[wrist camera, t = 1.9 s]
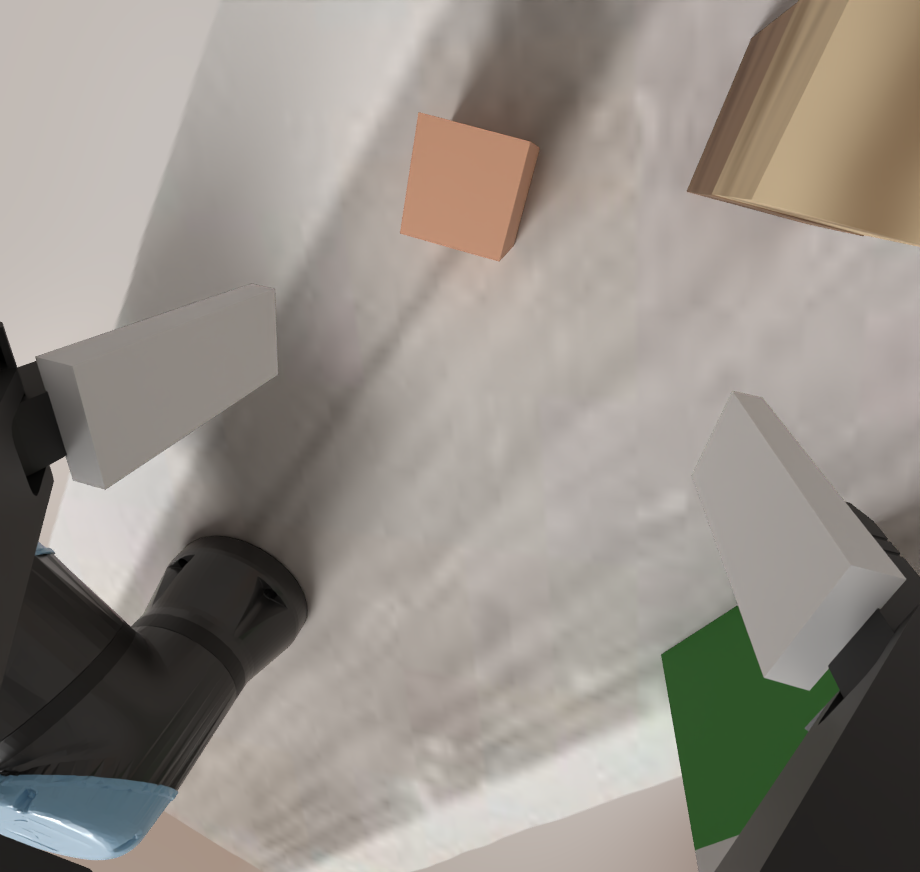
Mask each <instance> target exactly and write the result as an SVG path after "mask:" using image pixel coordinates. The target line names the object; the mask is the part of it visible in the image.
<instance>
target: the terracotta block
mask: <svg viewBox="0 0 920 872" xmlns="http://www.w3.org/2000/svg"><path fill="white" fill-rule="evenodd" d="M539 150H540V148H539V147H538V146H536V145H535V144H533V143H532V142H530V141H526V140H522V139H519V138H515V137H511V136H507V135H503V134H500V133H496V132H492V131H488V130H485V129H481V128H477V127H473V126H469V125H466V124H462V123H458V122H454V121H450V120H447V119H443V118H439V117H435V116H431V115H428V114H424V113H420V112H419V113H418V120H417V126H416V133H415V139H414V146H413V152H412V159H411V165H410V172H409V178H408V185H407V191H406V198H405V204H404V211H403V217H402V224H401V230H400V234H404V235H407V236H411V237H415V238H418V239H422V240H425V241H429V242H432V243H436V244H439V245H443V246H446V247H450V248H453V249H457V250H460V251H464V252H467V253H471V254H475V255H478V256H482V257H485V258H489V259H492V260H496V261H500V260H501V259H502V258H503V257H504V256H505V255H506V254H507V253H508V251H509V250H510V249H511V248H512V247H513V246H514V242H515V239H516V235H517V231H518V228H519V224H520V220H521V216H522V213H523V209H524V205H525V202H526V198H527V194H528V190H529V187H530V183H531V179H532V176H533V172H534V168H535V164H536V161H537V157H538V153H539Z"/></svg>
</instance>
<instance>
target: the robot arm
mask: <svg viewBox="0 0 920 872" xmlns="http://www.w3.org/2000/svg"><path fill="white" fill-rule="evenodd" d="M277 375H278V357H277V330H276V304H275V289H273V288H269V287H264V286H260V285H255V284H248V285H245V286H242V287H239V288H236V289H234V290H231V291H228V292H225V293H222V294H219V295H216V296H213V297H210V298H207V299H204V300H201V301H198V302H195V303H192V304H189V305H186V306H183V307H180V308H177V309H175V310H172V311H169V312H166V313H163V314H160V315H157V316H154V317H151V318H148V319H145V320H142V321H139V322H136V323H133V324H130V325H127V326H124V327H121V328H118V329H115V330H113V331H110V332H107V333H104V334H101V335H98V336H95V337H92V338H89V339H86V340H83V341H80V342H77V343H74V344H71V345H69V346H65V347H62V348H60V349H56V350H54V351H51V352H48V353H45V354H42V355H39V356H36V361H35V362H32V363H29V364H26V365H24V366H21V367H18V368H17V365H16V362H15V359H14V356H13V353H12V350H11V347H10V344H9V341H8V338H7V335H6V332H5V329H4V326H3V323H2V322H0V872H92V871H91V870H90V869H89V868H86V867H84V866H81V865H79V864H76V863H73V862H71V861H68V860H66V859H63V858H60V857H58V856H55V855H53V854H50V853H48V852H45V851H49V852H52V853H57V854H61V855H65V856H69V857H74V858H80V859H88V860H107V859H113V858H117V857H120V856H122V855H124V854H126V853H128V852H129V851H130V850H132V849H133V848H135V847H136V846H137V845H138V844H139V843H140V842H141V841H142V839H143V838H144V837H145V835H146V834H147V833H148V831H149V830H150V829H151V827H152V826H153V824H154V823H155V822H156V820H157V819H158V818H159V816H160V815H161V813H162V812H163V811H164V809H165V808H166V807H167V805H168V804H169V803H170V801H172V800H173V799H174V798H175V797H176V795H177V794H178V789H179V787H180V786H181V784H182V783H183V781H184V780H185V778H186V776H187V775H188V773H189V772H190V770H191V769H192V767H193V766H194V764H195V762H196V761H197V759H198V758H199V756H200V755H201V753H202V752H203V750H204V748H205V747H206V745H207V744H208V742H209V741H210V739H211V737H212V736H213V734H214V733H215V731H216V730H217V728H218V727H219V725H220V723H221V722H222V720H223V719H224V717H225V716H226V714H227V713H228V711H229V709H230V708H231V706H232V705H233V703H234V701H235V700H236V698H237V697H238V695H239V694H240V692H241V691H242V689H243V688H244V686H245V685H246V683H247V682H248V681H249V680H250V679H252V678H253V677H254V676H255V675H256V674H257V673H259V672H260V671H261V670H262V669H263V668H264V667H266V666H267V665H268V664H269V663H270V662H271V661H273V660H274V659H275V658H276V657H277V656H279V655H280V654H281V653H282V652H283V651H284V650H285V649H287V648H288V647H289V646H290V645H291V644H292V642H293V641H294V640H295V638H296V636H297V635H298V633H299V632H300V630H301V628H302V627H303V625H304V623H305V620H306V616H307V605H306V601H305V597H304V594H303V592H302V590H301V588H300V586H299V585H298V583H297V582H296V580H295V579H294V577H293V576H292V575H291V574H290V573H289V571H288V570H287V569H286V568H285V567H284V566H283V565H281V564H280V563H279V562H278V561H277V560H276V559H274V558H273V557H272V556H270V555H269V554H267V553H266V552H264V551H262V550H261V549H259V548H257V547H255V546H253V545H250V544H248V543H246V542H243V541H240V540H237V539H233V538H227V537H218V536H212V537H204V538H200V539H197V540H195V541H193V542H191V543H190V544H189V545H187V546H186V547H185V548H184V549H183V550H182V551H181V552H180V553H179V554H178V555H177V556H176V557H175V558H174V559H173V560H172V561H171V563H170V564H169V566H168V567H167V569H166V571H165V573H164V575H163V577H162V579H161V581H160V583H159V585H158V587H157V588H156V590H155V592H154V594H153V596H152V598H151V600H150V602H149V604H148V606H147V608H146V610H145V612H144V613H143V615H142V616H141V617H140V618H139V619H138V620H137V621H136V622H135V623H134V624H133V625H132V626H131V627H130V626H129V625H128V624H127V623H126V622H125V621H124V620H123V619H122V618H121V617H120V616H119V615H118V614H117V613H116V612H115V611H114V610H112V609H111V608H110V607H109V606H108V605H107V604H106V603H105V602H104V601H103V600H102V599H101V598H99V597H98V596H97V595H96V594H95V593H94V592H93V591H92V590H91V589H90V588H89V587H88V586H86V585H85V584H84V583H83V582H82V581H81V580H80V579H79V578H78V577H77V576H76V575H75V574H73V573H72V572H71V571H70V570H69V569H68V568H67V567H66V566H65V565H64V564H63V563H62V562H61V561H60V560H59V559H58V558H57V557H56V556H55V555H54V554H55V552H54V551H53V550H52V549H51V548H46V547H44V546H43V545H42V544H41V543H39V542H38V540H39V536H40V533H41V528H42V525H43V521H44V517H45V513H46V509H47V505H48V502H49V498H50V494H51V490H52V486H53V482H54V480H53V475H52V472H51V469H50V464H52V463H54V462H56V461H57V460H59V459H61V458H63V457H64V456H66V459H67V462H68V465H69V469H70V472H71V475H72V479H73V481H77V482H80V483H84V484H87V485H91V486H94V487H98V488H101V489H105V490H106V489H107V488H109V487H110V486H112V485H113V484H115V483H116V482H118V481H119V480H121V479H122V478H124V477H125V476H127V475H128V474H130V473H131V472H133V471H134V470H136V469H137V468H139V467H140V466H142V465H143V464H145V463H146V462H148V461H149V460H151V459H152V458H154V457H155V456H157V455H158V454H160V453H161V452H163V451H164V450H166V449H167V448H169V447H170V446H172V445H173V444H175V443H176V442H178V441H179V440H181V439H182V438H184V437H185V436H187V435H188V434H190V433H191V432H193V431H194V430H196V429H197V428H199V427H200V426H202V425H203V424H205V423H206V422H208V421H209V420H211V419H212V418H214V417H215V416H217V415H218V414H220V413H221V412H223V411H224V410H226V409H227V408H229V407H230V406H232V405H233V404H235V403H236V402H238V401H239V400H241V399H242V398H244V397H245V396H247V395H248V394H250V393H251V392H253V391H254V390H256V389H257V388H259V387H260V386H262V385H263V384H265V383H266V382H268V381H269V380H271V379H272V378H274V377H275V376H277ZM692 478H693V481H694V484H695V486H696V489H697V492H698V495H699V498H700V500H701V503H702V506H703V509H704V512H705V514H706V517H707V520H708V523H709V526H710V528H711V531H712V534H713V537H714V540H715V542H716V545H717V548H718V551H719V554H720V556H721V559H722V562H723V565H724V568H725V570H726V573H727V576H728V579H729V582H730V584H731V587H732V590H733V593H734V596H735V598H736V601H737V604H738V607H739V610H740V612H741V615H742V618H743V621H744V623H745V626H746V629H747V632H748V635H749V637H750V640H751V643H752V646H753V649H754V651H755V654H756V657H757V660H758V663H759V665H760V668H761V671H762V674H763V677H764V678H767V679H770V680H774V681H777V682H781V683H784V684H788V685H791V686H795V687H798V688H802V689H805V690H809V691H810V690H811V688H812V687H813V686H814V685H815V684H816V683H817V681H818V680H819V679H820V678H821V677H822V676H823V675H824V673H825V672H826V671H827V670H828V669H829V670H830V672H831V674H832V676H833V678H834V680H835V682H836V684H837V686H838V688H839V691H838V692H837V693H836V694H835V696H834V697H833V698H832V699H831V700H830V701H829V702H828V703H827V704H826V705H825V706H824V707H823V709H822V710H821V711H820V712H819V713H818V714H817V715H816V716H815V717H814V718H813V719H812V720H811V722H810V723H809V724H808V725H807V726H806V727H805V729H806V730H807V731H808V733H807V734H806V736H805V737H804V739H803V740H802V742H801V743H800V745H799V746H798V748H797V749H796V751H795V752H794V754H793V755H792V757H791V758H790V760H789V761H788V763H787V764H786V766H785V767H784V769H783V770H782V772H781V773H780V775H779V776H778V778H777V779H776V781H775V782H774V784H773V785H772V787H771V788H770V790H769V791H768V793H767V794H766V795H765V797H764V798H763V800H762V801H761V803H760V804H759V806H758V807H757V809H756V810H755V812H754V813H753V815H752V816H751V818H750V819H749V821H748V822H747V824H746V825H745V827H744V828H743V830H742V831H741V833H740V834H739V836H738V837H737V839H736V840H735V842H734V843H733V845H732V846H731V848H730V849H729V851H728V852H727V854H726V855H725V857H724V858H723V860H722V861H721V863H720V864H719V866H718V867H717V868H716V870H715V871H714V872H920V577H919V576H918V574H917V573H916V572H915V571H914V570H913V568H912V567H911V566H910V565H909V564H908V562H907V561H906V560H905V559H904V558H903V557H900V556H899V555H900V553H899V552H898V550H897V549H896V548H895V547H894V546H893V544H892V543H891V542H888V541H887V539H888V538H887V537H886V536H885V535H884V533H883V532H882V531H881V530H880V529H879V527H878V526H877V525H876V524H875V523H874V521H873V520H871V519H870V518H869V517H867V516H866V515H865V514H864V513H862V512H861V511H860V510H858V509H857V508H856V507H854V506H853V505H852V504H851V503H848V502H845V501H844V500H843V499H842V497H841V496H840V495H839V494H838V492H837V491H836V490H835V488H834V487H833V486H832V485H831V483H830V482H829V481H828V480H827V478H826V477H825V476H824V475H823V473H822V472H821V471H820V470H819V468H818V467H817V466H816V465H815V463H814V462H813V461H812V459H811V458H810V457H809V456H808V454H807V453H806V452H805V451H804V449H803V448H802V447H801V446H800V444H799V443H798V442H797V441H796V439H795V438H794V437H793V436H792V434H791V433H790V432H789V430H788V429H787V428H786V427H785V425H784V424H783V423H782V422H781V420H780V419H779V418H778V417H777V415H776V414H775V413H774V412H773V410H772V409H771V408H770V407H769V405H768V404H767V403H766V401H765V400H764V399H763V398H762V397H758V396H753V395H749V394H744V393H740V392H735V391H732V393H731V395H730V397H729V399H728V401H727V403H726V405H725V407H724V409H723V411H722V413H721V415H720V417H719V420H718V422H717V424H716V426H715V428H714V430H713V432H712V434H711V436H710V438H709V440H708V442H707V444H706V446H705V449H704V451H703V453H702V455H701V457H700V459H699V461H698V463H697V465H696V467H695V469H694V471H693V473H692ZM37 848H38V849H37ZM40 849H42V850H45V851H42V850H40Z"/></svg>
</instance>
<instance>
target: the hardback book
mask: <svg viewBox="0 0 920 872" xmlns="http://www.w3.org/2000/svg"><path fill="white" fill-rule="evenodd" d="M661 657H662V662H663V668H664V674H665V680H666V685H667V691H668V697H669V703H670V709H671V714H672V720H673V726H674V732H675V738H676V743H677V749H678V755H679V761H680V766H681V772H682V778H683V784H684V790H685V795H686V801H687V807H688V812H689V818H690V824H691V830H692V836H693V842H694V847H695V853H696V859H697V865H698V870H699V872H714V871H715V870H716V868H717V867H718V866H719V864H720V863H721V861H722V860H723V858H724V857H725V855H726V854H727V852H728V851H729V849H730V848H731V846H732V845H733V843H734V842H735V840H736V839H737V837H738V836H739V834H740V833H741V831H742V830H743V828H744V827H745V825H746V824H747V822H748V821H749V819H750V818H751V816H752V815H753V813H754V812H755V810H756V809H757V807H758V806H759V804H760V803H761V801H762V800H763V798H764V797H765V795H766V794H767V793H768V791H769V790H770V788H771V787H772V785H773V784H774V782H775V781H776V779H777V778H778V776H779V775H780V773H781V772H782V770H783V769H784V767H785V766H786V764H787V763H788V761H789V760H790V758H791V757H792V755H793V754H794V752H795V751H796V749H797V748H798V746H799V745H800V743H801V742H802V740H803V739H804V737H805V736H806V734H807V733H808V731H807V730H806V729H805V727H806V726H807V725H808V724H809V723H810V722H811V720H812V719H813V718H814V717H815V716H816V715H817V714H818V713H819V712H820V711H821V710H822V709H823V707H824V706H825V705H826V704H827V703H828V702H829V701H830V700H831V699H832V698H833V697H834V696H835V694H836V693H837V692H838V691H839V688H838V686H837V684H836V682H835V680H834V678H833V676H832V674H831V672H830V670H829V669H828V670H827V671H826V672H825V673H824V675H823V676H822V677H821V678H820V679H819V680H818V681H817V683H816V684H815V685H814V686H813V687H812V688H811V690H810V691H809V690H805V689H802V688H798V687H795V686H791V685H788V684H784V683H781V682H777V681H774V680H770V679H767V678H764V677H763V674H762V671H761V668H760V665H759V663H758V660H757V657H756V654H755V651H754V649H753V646H752V643H751V640H750V637H749V635H748V632H747V629H746V626H745V623H744V621H743V618H742V615H741V612H740V610H739V607H738V605H737V606H736V607H734V608H733V609H731V610H730V611H728V612H727V613H725V614H723V615H722V616H720V617H719V618H717V619H716V620H714V621H713V622H711V623H710V624H708V625H706V626H705V627H703V628H702V629H700V630H699V631H697V632H696V633H694V634H692V635H691V636H689V637H688V638H686V639H685V640H683V641H682V642H680V643H678V644H677V645H675V646H674V647H672V648H671V649H669V650H668V651H666V652H665V653H663V654H661Z"/></svg>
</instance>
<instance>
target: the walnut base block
mask: <svg viewBox="0 0 920 872" xmlns="http://www.w3.org/2000/svg"><path fill="white" fill-rule="evenodd" d="M797 3H798V2H797ZM797 3H796V4H795V5H793V6H792V7H791V8H789V9H788V10H787V11H786V12H784V13H783V14H782V15H781V16H779V17H778V18H777V19H775V20H774V21H773V22H772V23H770V24H769V25H768V26H767V27H765V28H764V29H763V30H762V31H760V32H759V33H758V34H756V35H755V36H754V37H753V38H751V40H750V43H749V45H748V48H747V50H746V52H745V55H744V57H743V59H742V62H741V64H740V66H739V69H738V71H737V74H736V76H735V78H734V81H733V83H732V85H731V88H730V90H729V92H728V95H727V97H726V100H725V102H724V104H723V107H722V109H721V111H720V114H719V116H718V119H717V121H716V123H715V126H714V128H713V130H712V133H711V135H710V137H709V140H708V142H707V145H706V147H705V149H704V152H703V154H702V156H701V159H700V161H699V163H698V166H697V168H696V171H695V173H694V175H693V178H692V180H691V182H690V185H689V187H688V189H687V192H690V193H694V194H697V195H701V196H705V197H709V198H712V199H716V200H720V201H724V202H727V203H731V204H735V205H738V206H742V207H746V208H750V209H753V210H757V211H761V212H765V213H768V214H772V215H776V216H779V217H783V218H787V219H791V220H794V221H798V222H802V223H806V224H809V225H814V226H818V227H823V228H828V229H832V230H837V231H842V232H846V233H851V234H855V235H860V236H864V235H862V234H858V233H854V232H851V231H847V230H843V229H839V228H836V227H832V226H828V225H825V224H821V223H817V222H813V221H810V220H806V219H802V218H798V217H795V216H791V215H787V214H784V213H780V212H776V211H772V210H769V209H765V208H761V207H757V206H754V205H750V204H746V203H742V202H739V201H735V200H731V199H728V198H724V197H720V196H716V195H713V194H712V192H713V190H714V188H715V186H716V184H717V181H718V179H719V177H720V175H721V172H722V170H723V168H724V166H725V163H726V161H727V159H728V157H729V155H730V152H731V150H732V148H733V146H734V143H735V141H736V139H737V137H738V134H739V132H740V130H741V128H742V125H743V123H744V121H745V119H746V117H747V114H748V112H749V110H750V108H751V105H752V103H753V101H754V99H755V96H756V94H757V92H758V90H759V88H760V85H761V83H762V81H763V79H764V76H765V74H766V72H767V70H768V67H769V65H770V63H771V61H772V58H773V56H774V54H775V52H776V50H777V47H778V45H779V43H780V41H781V38H782V36H783V34H784V32H785V29H786V27H787V25H788V23H789V21H790V18H791V16H792V14H793V12H794V9H795V7H796V5H797Z"/></svg>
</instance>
